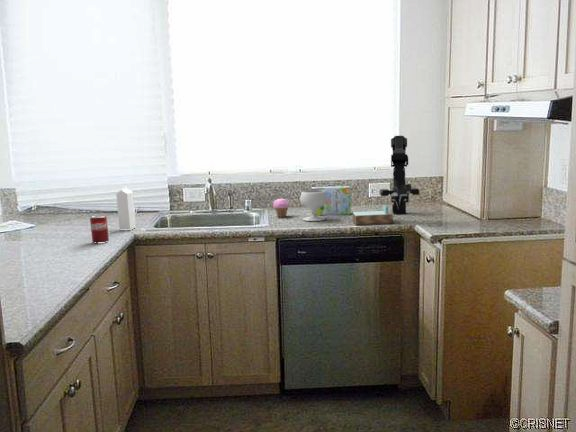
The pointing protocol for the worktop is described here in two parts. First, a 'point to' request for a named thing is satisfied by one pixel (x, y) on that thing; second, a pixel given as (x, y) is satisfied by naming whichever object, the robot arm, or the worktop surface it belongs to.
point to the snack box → (335, 200)
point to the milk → (126, 208)
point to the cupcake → (281, 207)
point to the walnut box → (373, 219)
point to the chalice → (313, 202)
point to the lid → (373, 212)
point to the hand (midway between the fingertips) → (399, 209)
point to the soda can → (99, 228)
